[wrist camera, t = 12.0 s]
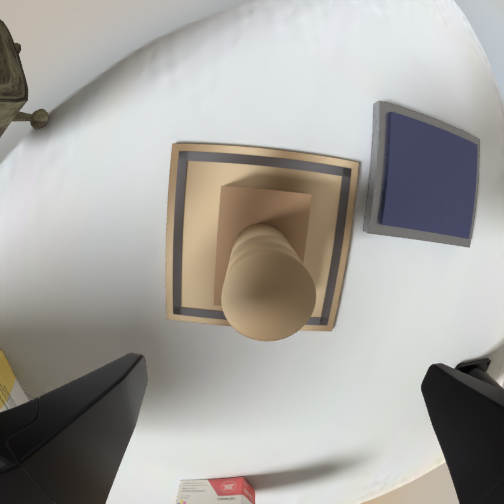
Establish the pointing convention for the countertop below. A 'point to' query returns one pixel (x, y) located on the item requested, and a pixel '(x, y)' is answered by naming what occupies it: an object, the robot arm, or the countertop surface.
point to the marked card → (254, 176)
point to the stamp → (263, 262)
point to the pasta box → (9, 387)
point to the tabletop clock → (14, 85)
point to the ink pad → (421, 178)
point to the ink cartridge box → (215, 491)
